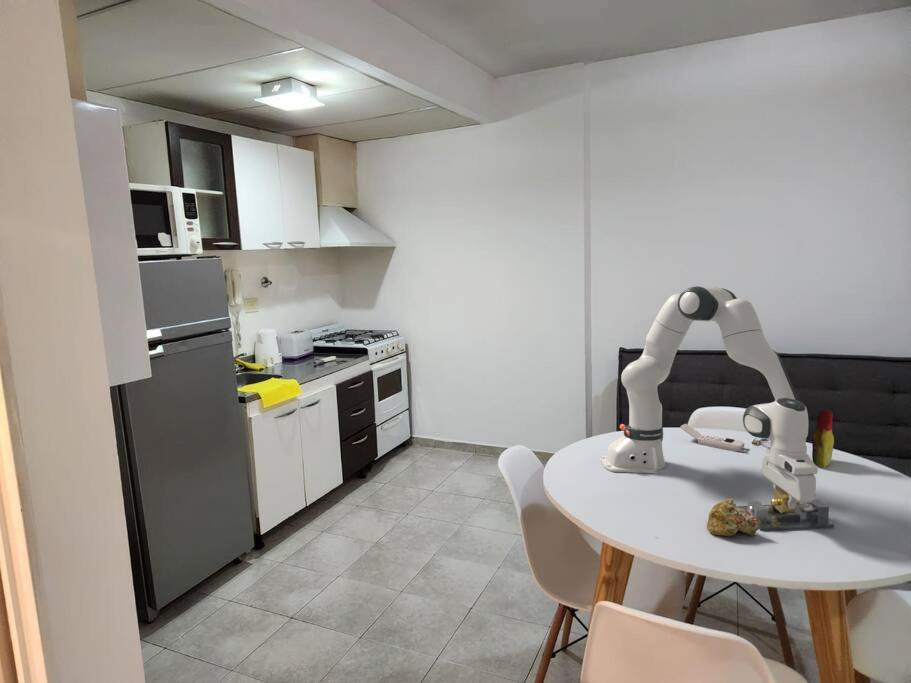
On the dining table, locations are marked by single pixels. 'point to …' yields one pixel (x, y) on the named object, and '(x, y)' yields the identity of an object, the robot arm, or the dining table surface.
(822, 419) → the red yellow oblong piece
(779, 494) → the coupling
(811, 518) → the dark grey baseplate
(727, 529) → the rock
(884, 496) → the dining table surface
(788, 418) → the robot arm
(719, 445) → the mobile phone
